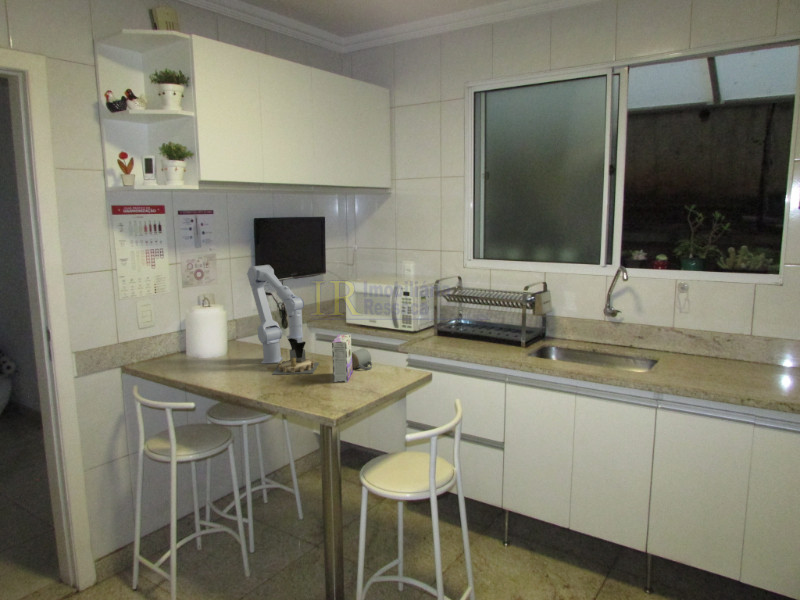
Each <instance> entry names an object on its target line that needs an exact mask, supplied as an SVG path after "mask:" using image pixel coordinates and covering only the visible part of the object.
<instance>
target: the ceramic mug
mask: <svg viewBox="0 0 800 600" xmlns="http://www.w3.org/2000/svg"><path fill="white" fill-rule="evenodd" d="M371 355H372V354H371V353H370V351H369V350H368V349H366V348H365V347H363V348H360V349H357V350H355V351H352V368H353V370H354V369H355V370H356V369H361V370H362V371H363V370H364V371H369V370H371V369H372V368H373V363H372V356H371ZM369 365H370V366H369Z"/></svg>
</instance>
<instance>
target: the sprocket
mask: <svg viewBox="0 0 800 600" xmlns="http://www.w3.org/2000/svg"><path fill="white" fill-rule="evenodd" d="M314 363H315V362H314V361H313V360H312V359H311V360H309V359H308V358H306V361H304V362H296V358H291V361H290V359H289V360H282V361H281V363H280V362H279V363H277V364H278V366H279V371H283V372H291V373H294V372H299V371H300V372H303V371H305V370H311V368H314ZM278 366H277V367H278Z"/></svg>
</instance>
